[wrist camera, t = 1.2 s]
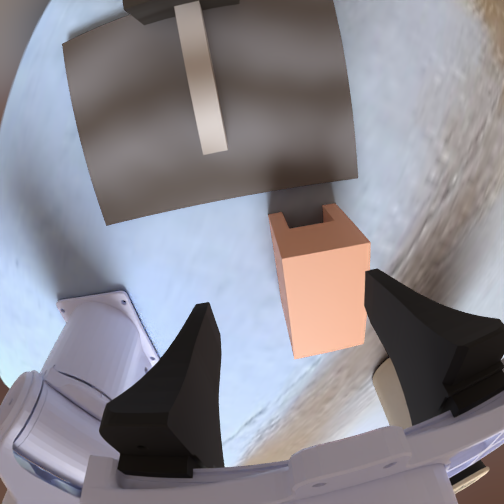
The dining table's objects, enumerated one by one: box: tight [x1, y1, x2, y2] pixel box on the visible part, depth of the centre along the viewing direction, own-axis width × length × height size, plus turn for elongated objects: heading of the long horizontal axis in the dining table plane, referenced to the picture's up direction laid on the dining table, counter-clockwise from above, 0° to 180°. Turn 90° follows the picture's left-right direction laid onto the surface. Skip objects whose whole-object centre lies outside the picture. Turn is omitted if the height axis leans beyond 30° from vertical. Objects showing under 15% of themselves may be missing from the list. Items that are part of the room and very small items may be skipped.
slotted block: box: [268, 203, 371, 359], centre depth 21 cm, size 8×5×6 cm, turn 10°
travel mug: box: [373, 358, 489, 493], centre depth 24 cm, size 8×8×18 cm
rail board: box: [62, 0, 358, 226], centre depth 15 cm, size 14×18×5 cm
